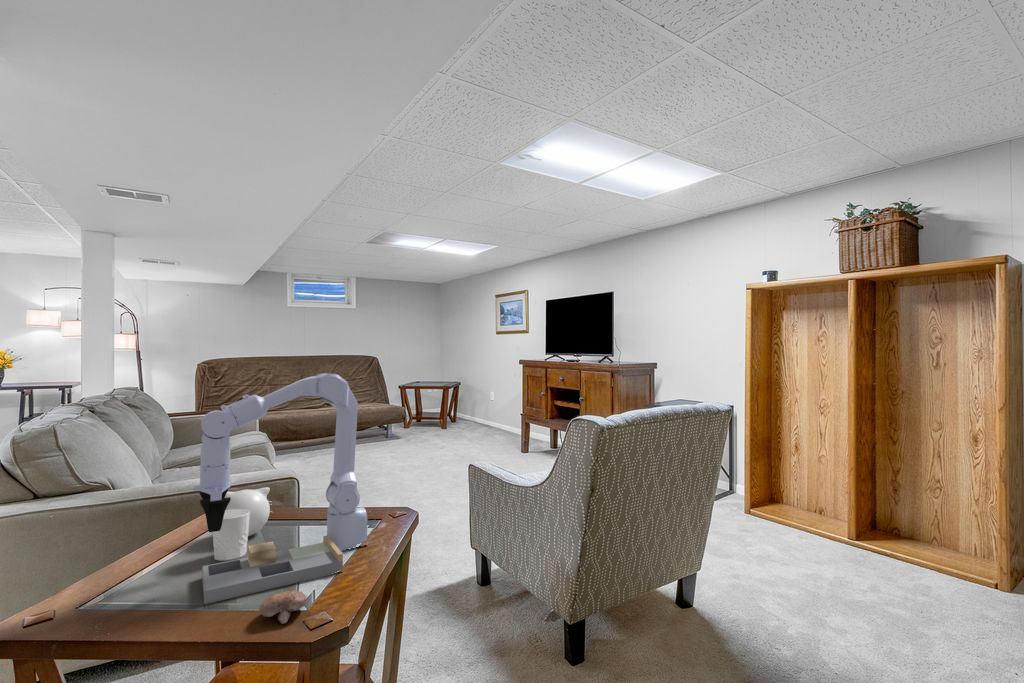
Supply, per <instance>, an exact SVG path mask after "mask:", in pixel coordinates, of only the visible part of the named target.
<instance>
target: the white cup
mask: <svg viewBox="0 0 1024 683" xmlns="http://www.w3.org/2000/svg"><path fill="white" fill-rule="evenodd" d="M249 516H250V511H249V510H247V509H232V510H226V511H225V513H224V517H223V522H222V526H221V529H220V531H216V532H212V544H213V545H212V546H213V557H214V560H215V561H220V562H221V561H222V562H227V561H232V560H237V559H241V557H244V556H245V555H246V554H247V552H248V541H249V539H248V538H249V536H248V531H249Z"/></svg>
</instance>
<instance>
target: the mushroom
mask: <svg viewBox="0 0 1024 683" xmlns="http://www.w3.org/2000/svg"><path fill="white" fill-rule="evenodd" d="M307 598H308V597H307V596H306V594H305V593H303V592H302V591H298V590H294V589H292V590H289V591H282V592H278V593H274V594H272V595H270V596H269V597H267V598H266V599H265V600H264V601H262V603H261V604H260V605H259V612H260V614H261V615H262V617H266V618H270V617H273V616H275V615H276V614H279V615H278V617H277V620H278V622H279V623H280V624H282V625H283V624H286V623H287V622H288V620H289V619H290V617H291V613H292V612H296V611H298V610H300V609H302V608H304V607H305V606H306V604H307V602H308V599H307Z"/></svg>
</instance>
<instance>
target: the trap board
mask: <svg viewBox="0 0 1024 683" xmlns="http://www.w3.org/2000/svg"><path fill="white" fill-rule="evenodd" d="M322 538H323V543H322V542H319V543H313V544H309V545H303V546H299V547H294V548H289V549H284V550H283V549H282V550H279V551H276V562H274V563H269V564H264V565H259V566H254V567H250V565H249V562H248V556H247V557H243V558H236V559H233V560H227V561H222V562H217V563H213V564H207V565H202V568H201V570H202V573H201V574H202V575H201V578H202V579H201V580H202V591H203V592H202V593H203V603H204V604H203V605H207V604H211V603H216V602H221V601H225V600H228V599H233V598H238V597H242V596H246V595H250V594H253V593H258V592H259V593H260V592H263V591H264V592H265V591H267V590H272V589H276V588H279V587H284V586H289V585H293V584H296V583H301V582H306V581H310V580H314V579H319V578H323V577H324V578H325V577H327V576H332V575H333V574H332V573H335V572H337V571H339V570H342V569H343V565H344V554H343V551H340V550H339V548H338V547H337V546H336V545H335V544H334V542H333V541H332V540H331V539H330V538H329V536H328V535H327V534H326V535H324V536H323V537H322ZM331 574H332V575H331Z"/></svg>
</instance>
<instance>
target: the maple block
mask: <svg viewBox="0 0 1024 683" xmlns="http://www.w3.org/2000/svg"><path fill="white" fill-rule="evenodd" d="M276 552H277V547H276V545H275V543H274V541H268V542H263V543H258V544H257V543H256V544H251V545H247V557H248V562H249V565H250V567H254V566H259V565H264V564H269V563H274V562H276Z"/></svg>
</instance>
